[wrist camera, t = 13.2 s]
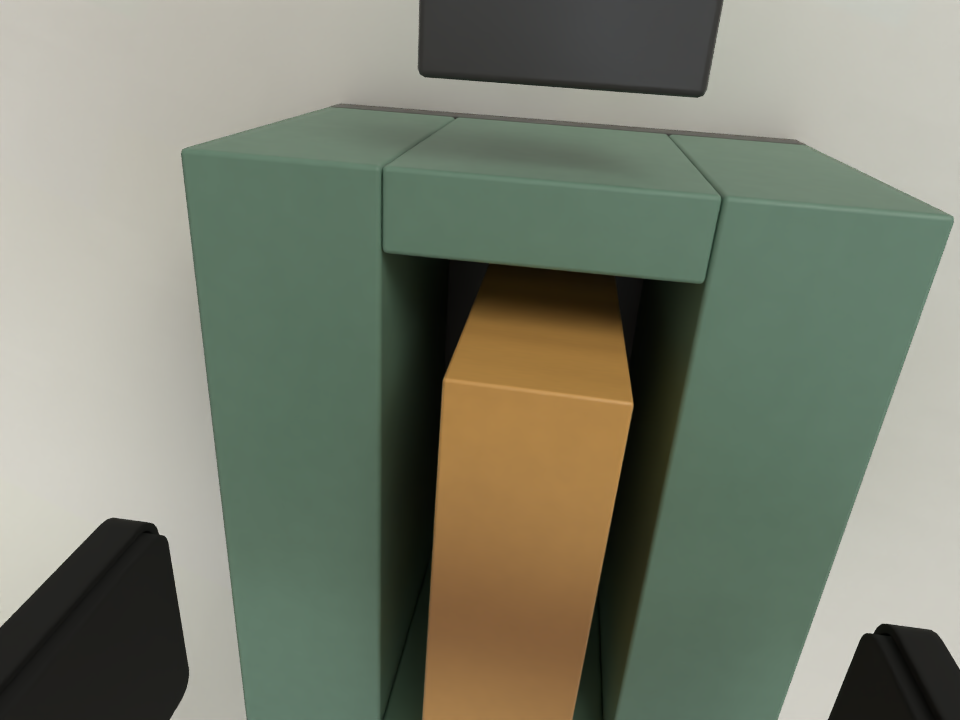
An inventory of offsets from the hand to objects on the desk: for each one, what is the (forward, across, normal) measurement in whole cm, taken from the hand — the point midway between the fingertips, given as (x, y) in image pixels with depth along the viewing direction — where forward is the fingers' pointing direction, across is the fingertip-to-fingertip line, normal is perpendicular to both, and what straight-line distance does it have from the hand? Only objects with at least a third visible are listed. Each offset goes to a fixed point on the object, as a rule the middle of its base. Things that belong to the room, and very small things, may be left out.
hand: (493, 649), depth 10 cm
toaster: (+9, 0, 0) cm, 9 cm away
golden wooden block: (+8, 0, 0) cm, 8 cm away
